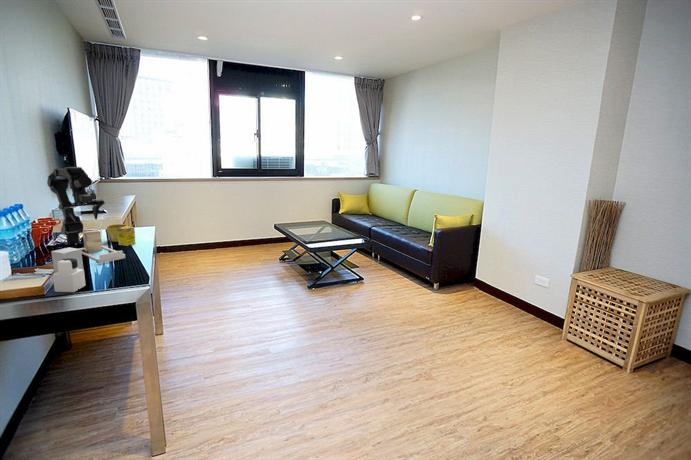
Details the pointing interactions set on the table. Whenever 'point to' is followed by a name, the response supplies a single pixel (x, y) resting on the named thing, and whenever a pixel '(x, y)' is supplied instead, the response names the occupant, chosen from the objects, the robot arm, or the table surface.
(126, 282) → the table surface
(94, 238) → the birch block
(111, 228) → the plant pot
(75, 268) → the white stepped block
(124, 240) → the supplement box
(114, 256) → the tray
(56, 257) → the supplement box
